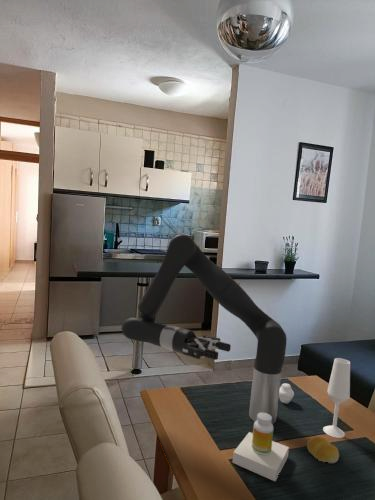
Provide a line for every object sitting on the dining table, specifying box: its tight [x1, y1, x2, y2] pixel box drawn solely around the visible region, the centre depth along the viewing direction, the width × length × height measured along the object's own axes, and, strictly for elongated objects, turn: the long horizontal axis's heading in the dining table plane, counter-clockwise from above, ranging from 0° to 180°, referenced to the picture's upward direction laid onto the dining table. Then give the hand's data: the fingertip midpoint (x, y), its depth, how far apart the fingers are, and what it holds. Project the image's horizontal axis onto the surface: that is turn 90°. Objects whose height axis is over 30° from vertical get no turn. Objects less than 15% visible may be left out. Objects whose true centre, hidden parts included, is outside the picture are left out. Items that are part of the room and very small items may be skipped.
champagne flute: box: [322, 357, 351, 439], centre depth 117 cm, size 7×7×24 cm
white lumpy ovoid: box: [279, 382, 295, 404], centre depth 136 cm, size 6×6×7 cm
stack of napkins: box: [232, 431, 290, 482], centre depth 100 cm, size 12×12×3 cm
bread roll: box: [306, 436, 340, 464], centre depth 105 cm, size 8×9×4 cm
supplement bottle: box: [252, 413, 274, 455], centre depth 100 cm, size 5×5×10 cm
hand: (224, 351), depth 105 cm, fingers open, 8 cm apart
